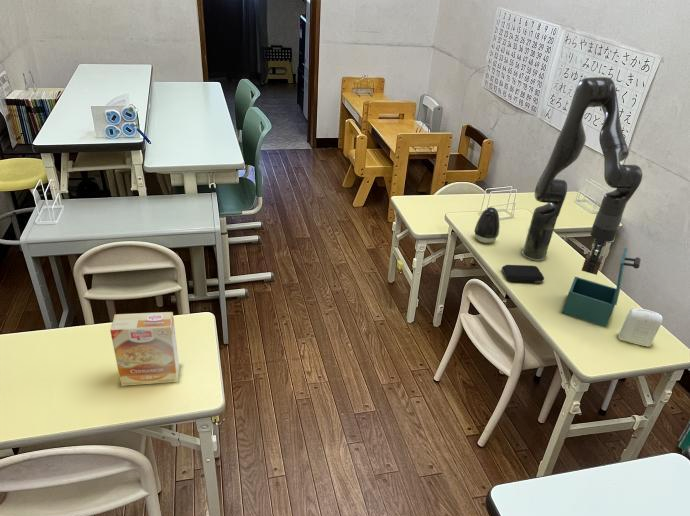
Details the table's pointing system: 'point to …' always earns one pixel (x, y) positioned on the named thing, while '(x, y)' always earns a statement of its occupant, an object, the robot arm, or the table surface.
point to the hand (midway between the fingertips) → (590, 268)
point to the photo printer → (640, 327)
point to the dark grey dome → (487, 226)
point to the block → (595, 265)
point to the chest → (590, 301)
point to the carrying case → (523, 273)
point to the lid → (635, 265)
